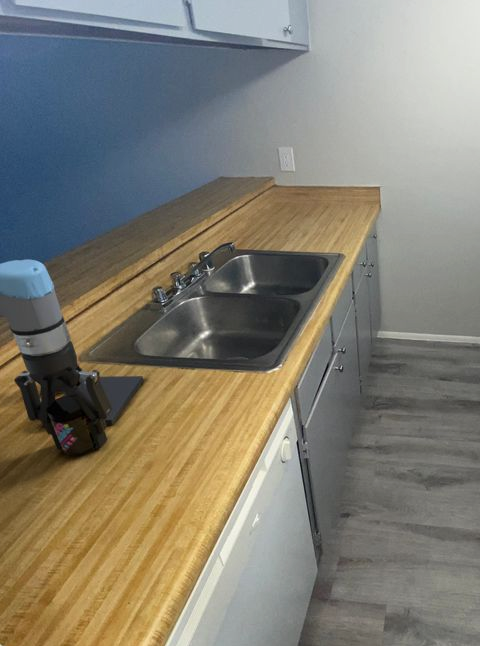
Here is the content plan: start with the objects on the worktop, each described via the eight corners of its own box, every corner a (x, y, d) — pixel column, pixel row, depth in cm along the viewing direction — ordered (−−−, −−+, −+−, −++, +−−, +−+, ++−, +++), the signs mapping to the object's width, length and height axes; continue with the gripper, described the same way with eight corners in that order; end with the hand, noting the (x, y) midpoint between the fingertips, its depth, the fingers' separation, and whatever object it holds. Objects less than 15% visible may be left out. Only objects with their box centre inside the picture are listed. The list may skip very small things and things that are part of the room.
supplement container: (65, 438, 96) (49, 397, 91) (103, 430, 99) (90, 389, 94) (60, 461, 91) (43, 419, 86) (101, 451, 93) (86, 410, 88)
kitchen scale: (42, 426, 99) (37, 415, 97) (82, 381, 113) (79, 371, 112) (112, 425, 100) (109, 414, 99) (143, 380, 114) (140, 370, 113)
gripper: (-29, 358, 80) (18, 459, 90) (94, 357, 81) (125, 456, 92) (1, 336, 86) (41, 432, 97) (114, 335, 88) (141, 430, 99)
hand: (82, 444), depth 94 cm, fingers closed on supplement container, 7 cm apart
